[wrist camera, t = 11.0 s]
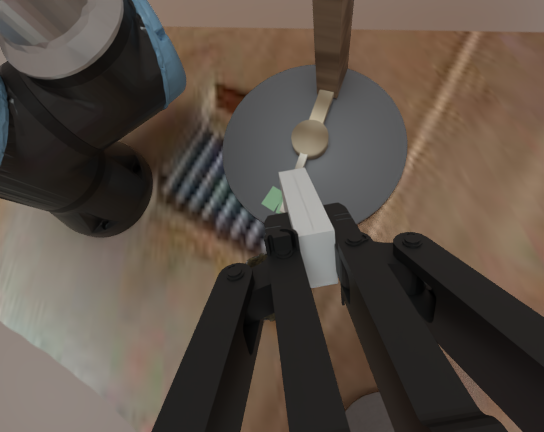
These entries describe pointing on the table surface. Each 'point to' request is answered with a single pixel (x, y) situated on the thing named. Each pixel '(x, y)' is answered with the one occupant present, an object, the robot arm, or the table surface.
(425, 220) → the table surface
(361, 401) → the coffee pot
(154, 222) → the table surface
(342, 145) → the dial plate
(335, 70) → the brown bar with rod
